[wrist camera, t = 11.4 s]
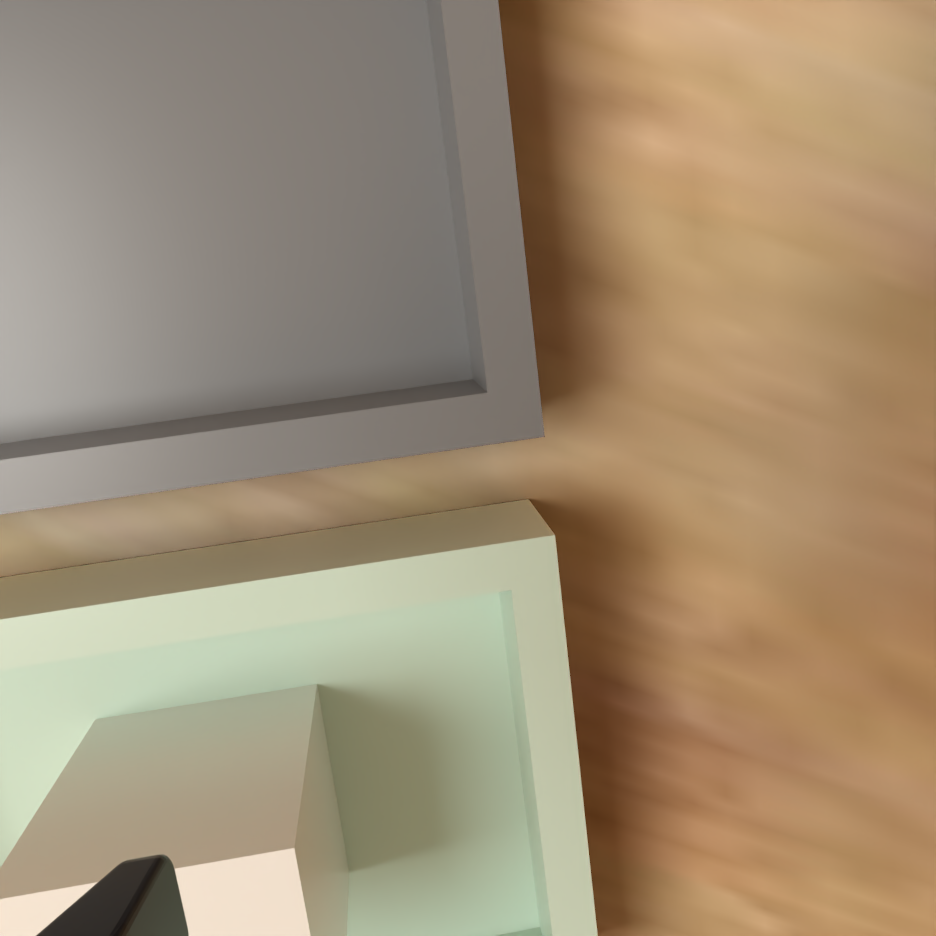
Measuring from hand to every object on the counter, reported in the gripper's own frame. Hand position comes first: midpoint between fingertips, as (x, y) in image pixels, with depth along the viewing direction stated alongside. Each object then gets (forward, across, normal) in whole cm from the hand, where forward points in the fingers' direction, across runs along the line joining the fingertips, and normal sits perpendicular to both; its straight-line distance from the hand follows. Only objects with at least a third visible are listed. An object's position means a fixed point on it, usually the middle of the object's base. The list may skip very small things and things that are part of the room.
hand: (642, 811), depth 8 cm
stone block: (+12, +7, +6) cm, 15 cm away
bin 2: (+12, +7, +6) cm, 15 cm away
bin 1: (+12, +7, -8) cm, 16 cm away
